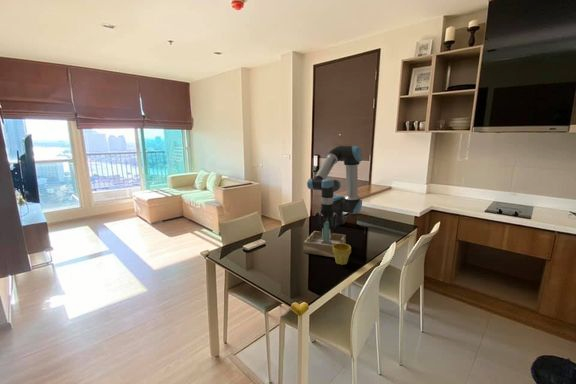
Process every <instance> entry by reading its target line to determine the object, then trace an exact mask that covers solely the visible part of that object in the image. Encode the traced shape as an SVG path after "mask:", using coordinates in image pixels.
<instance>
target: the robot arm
mask: <svg viewBox="0 0 576 384" xmlns="http://www.w3.org/2000/svg"><path fill="white" fill-rule="evenodd" d="M362 160H363V152H362V148H361V147H360V146H358V145H357V146H356V145H338V146H335V147H334V148H332V149H331V150H330V151H328V152H327V153H326V156H325V159H324V161H323V162H322V165H321V166H320V168H319V169H318V170H317V172H316V173H315V175H314V177H313V178H309V179H308V180H307V182H306V187H307V188H308V189H309V190H314V191H321V197H320V199H321V204H320V205H321V206H320V211H317V212H316V215H317V227H318V228H320V232H321V233H322V238H323V233H324V222H329V224H330V229H329V239H331V234H332V233H334V232H333V231H334V230H335V229H336V228H337V226H343V225H345V221H346V220H345V218H344V213H348V214H353V215H354V214H355V215H356V214H359V213H360V212H361V210H362V206H363V200H362V199H361V198H360V195H358V194H359V193H358V178H359V177H358V175H359V173H358V166H359V165H360V164H361V162H362ZM338 162H343V164H344V166H345V177H346V178H345V180H346V181H345V182H346V183H345V184H346V185H345V186H346V191H345V192H346V194H345V196H344V195H342V194H338V195H336V194H334V192H337V191H339V190H340V189H341V186H342V185H341V182H340V180H338V179H331V178H327V177H328V176H329V175H330V172H331V171H332V170H333V167H334V166H335V164H337V163H338ZM321 216H322V219H321ZM325 220H326V221H325Z"/></svg>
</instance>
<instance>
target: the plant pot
mask: <svg viewBox="0 0 576 384" xmlns="http://www.w3.org/2000/svg"><path fill="white" fill-rule="evenodd" d="M333 253H334V256H335V257H334V259H335V261H334V262H335V263H336V264H337V265H339V264H340V266H342V265H343V266H345V265H347V264H348V262H349V257H350V255H351V253H352V247H351V245H350V244H347V243H345V244H343V243H338V244H334V245H333Z"/></svg>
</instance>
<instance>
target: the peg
mask: <svg viewBox="0 0 576 384" xmlns="http://www.w3.org/2000/svg"><path fill="white" fill-rule="evenodd" d="M323 227H324V233H323V240H324V241H329V240H330V239H329V229H330V224H329V222H326V221H324V226H323Z"/></svg>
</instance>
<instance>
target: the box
mask: <svg viewBox="0 0 576 384" xmlns="http://www.w3.org/2000/svg"><path fill="white" fill-rule="evenodd" d="M346 236H347V235H346V234H342V233H341V234H340V233H334V232H333V233H332V234H331V239H330V240H329V241H324V240H323V238H322V233H321V231H319V230H318V231H317V230H314V231H313V232H311V234H310V235H308V236H307V238H306V239H305V240H304V241H303V253H306V254H311V255H317V256H324V257H330V258H335V256H334V253H333V245H334V244H338V243H343V244H346V241H347V240H346Z"/></svg>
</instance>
